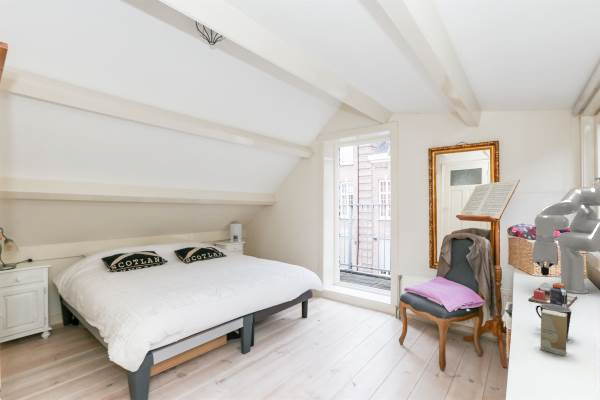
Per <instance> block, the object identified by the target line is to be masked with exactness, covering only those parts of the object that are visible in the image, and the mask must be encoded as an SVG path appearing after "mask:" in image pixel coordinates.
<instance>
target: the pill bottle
mask: <svg viewBox="0 0 600 400" xmlns="http://www.w3.org/2000/svg"><path fill="white" fill-rule="evenodd" d="M567 294H568V292H567V291H566V290H565V289H564V284H561V282H560V283H557V282H553V283H552V287H551V288H550V304H553V305H559V306H563V307H567Z"/></svg>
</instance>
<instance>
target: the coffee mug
mask: <svg viewBox="0 0 600 400" xmlns="http://www.w3.org/2000/svg"><path fill="white" fill-rule="evenodd" d="M539 308H540V312H539V310H538V309H539ZM543 309H546V310H551V311H556V312H560V313H566V314H567V340H568V338H569V331H570V330H569V329H570V323H571V316H572V309H571V308H570V307H569V308H567V307H563V306H559V305H553V304H541V303H540V304H539V305H536V306H535V312H536V314H537V315H538V317H539V319H541V312H542V310H543Z"/></svg>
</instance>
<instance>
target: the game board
mask: <svg viewBox="0 0 600 400" xmlns="http://www.w3.org/2000/svg"><path fill="white" fill-rule="evenodd" d="M535 290H540V286H539V287H538V288H537V289H535ZM541 291H544V290H541ZM577 299H578V295H572V294H568V293H567V308H569V309H570V307H571V306H572V305H573V303H574V302H575V301H576V300H577ZM528 302H531V303H536V304H540V305H541V304H550V291H545V299H544V300H540V299H534V295H532V296H531V297H529V298H528Z"/></svg>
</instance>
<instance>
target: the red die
mask: <svg viewBox="0 0 600 400" xmlns="http://www.w3.org/2000/svg"><path fill="white" fill-rule="evenodd" d="M533 296H534V299H540V300H544V299H545V291H541V290H536V289H534V291H533Z"/></svg>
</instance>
